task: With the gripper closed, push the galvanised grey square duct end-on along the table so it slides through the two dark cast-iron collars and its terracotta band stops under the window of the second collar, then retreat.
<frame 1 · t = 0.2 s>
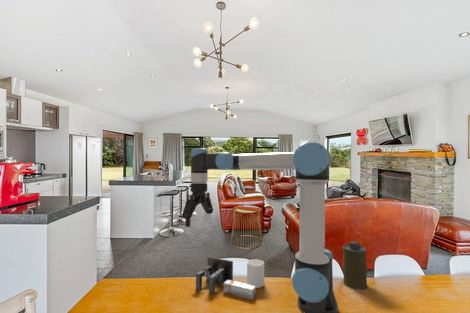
hand: (198, 230, 107), 28 cm above the table, fingers open, 13 cm apart
canister: (355, 284, 116), on the table
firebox: (211, 286, 113), on the table
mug: (255, 283, 117), on the table
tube: (239, 293, 106), on the table
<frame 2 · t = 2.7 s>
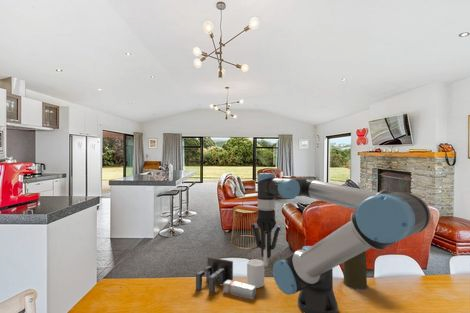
hand: (266, 264, 102), 14 cm above the table, fingers closed
nothing on the table moved.
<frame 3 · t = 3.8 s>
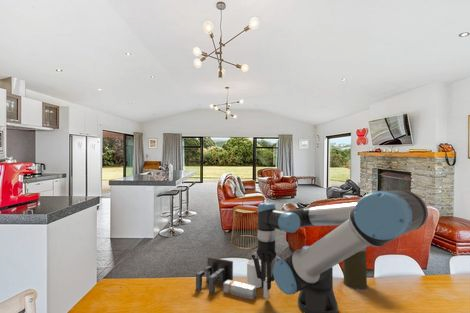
hand: (266, 296, 101), 2 cm above the table, fingers closed
nothing on the table moved.
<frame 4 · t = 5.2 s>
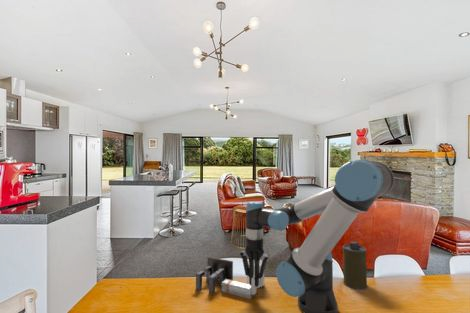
hand: (253, 292, 104), 2 cm above the table, fingers closed
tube: (237, 293, 107), on the table, touching gripper
everything else where it was.
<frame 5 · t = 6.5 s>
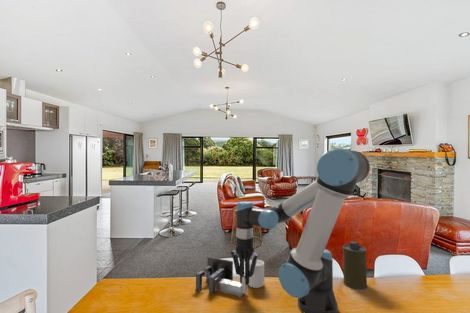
hand: (244, 291, 105), 1 cm above the table, fingers closed
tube: (228, 291, 108), on the table, touching gripper
everything else where it was.
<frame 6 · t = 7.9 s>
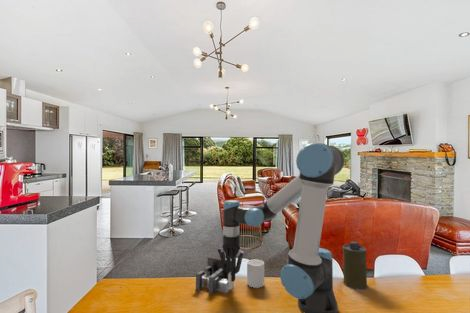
hand: (230, 287, 108), 2 cm above the table, fingers closed
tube: (215, 287, 111), on the table, touching gripper
everything else where it was.
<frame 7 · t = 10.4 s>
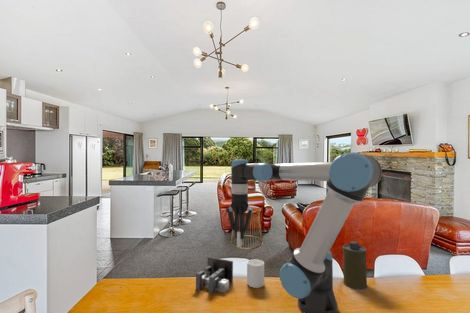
hand: (239, 246, 108), 21 cm above the table, fingers closed
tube: (213, 287, 112), on the table
everything else where it was.
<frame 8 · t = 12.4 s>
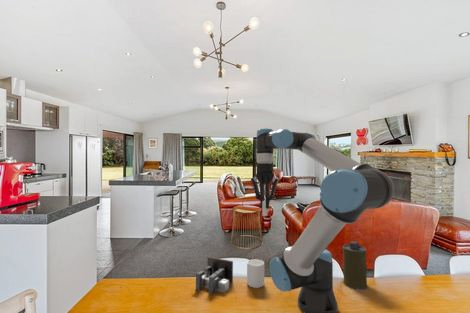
hand: (264, 215, 107), 34 cm above the table, fingers closed
nothing on the table moved.
at the end: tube 2.4 cm from the target spot, on the table; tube moved 13.2 cm from its start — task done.
